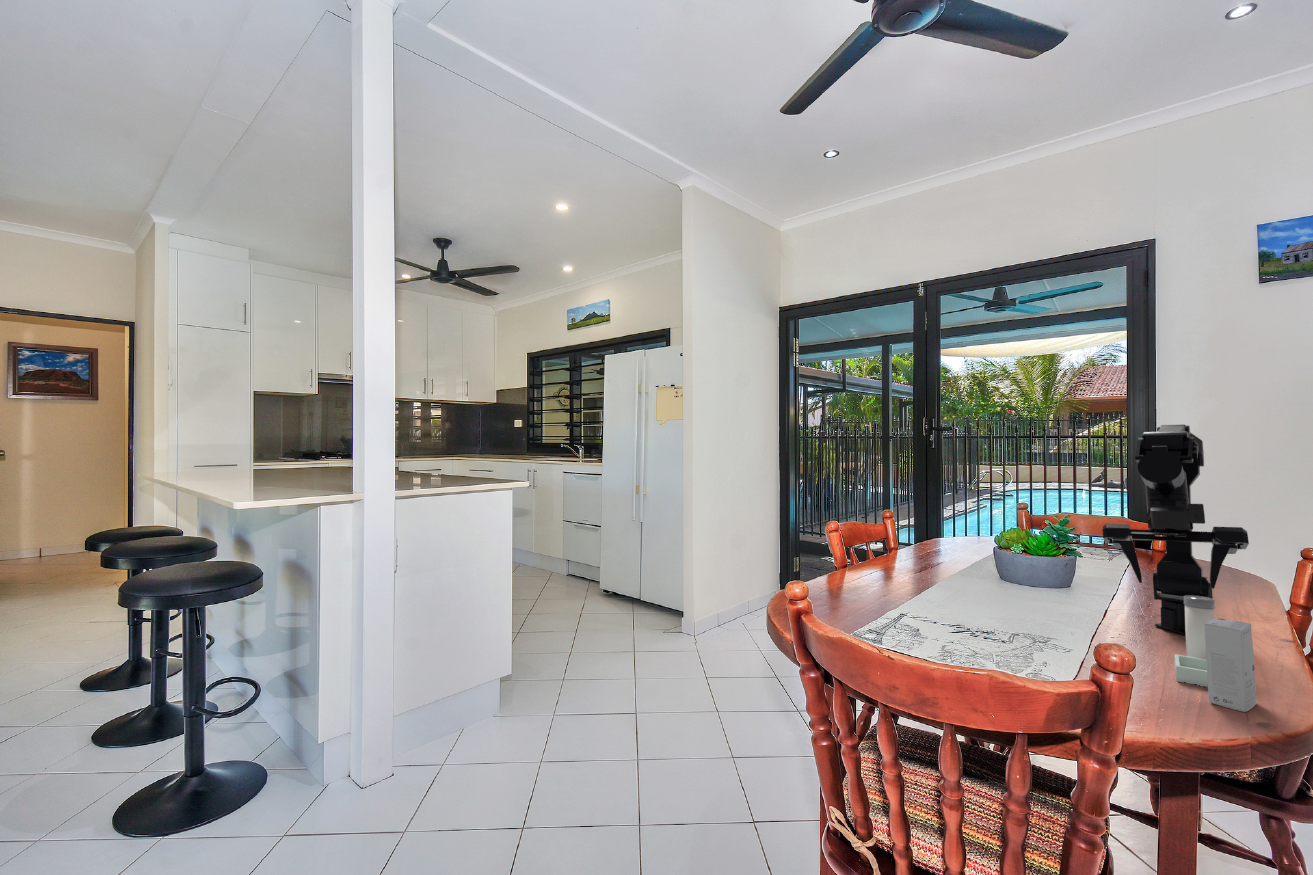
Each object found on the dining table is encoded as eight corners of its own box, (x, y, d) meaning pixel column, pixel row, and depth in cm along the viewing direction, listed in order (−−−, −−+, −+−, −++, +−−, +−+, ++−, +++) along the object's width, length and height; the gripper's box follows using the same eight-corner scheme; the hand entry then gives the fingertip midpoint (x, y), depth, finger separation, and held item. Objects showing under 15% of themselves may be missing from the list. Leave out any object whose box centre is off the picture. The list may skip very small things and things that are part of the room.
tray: (1174, 668, 100) (1174, 654, 100) (1232, 678, 95) (1232, 663, 95) (1176, 680, 94) (1175, 665, 94) (1238, 692, 89) (1237, 677, 89)
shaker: (1198, 660, 103) (1196, 594, 103) (1223, 668, 99) (1220, 600, 99) (1179, 661, 103) (1177, 595, 103) (1203, 670, 99) (1201, 601, 99)
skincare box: (1247, 713, 82) (1244, 630, 83) (1205, 702, 86) (1203, 623, 87) (1257, 702, 86) (1255, 623, 86) (1217, 692, 90) (1214, 616, 90)
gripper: (1097, 486, 102) (1103, 573, 98) (1245, 485, 90) (1259, 585, 86) (1102, 501, 110) (1107, 582, 106) (1239, 502, 98) (1251, 593, 93)
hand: (1175, 585), depth 97 cm, fingers open, 9 cm apart
